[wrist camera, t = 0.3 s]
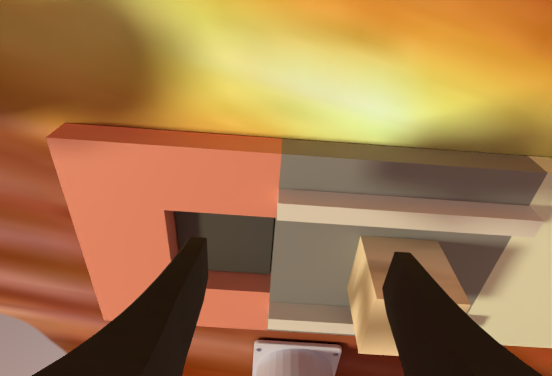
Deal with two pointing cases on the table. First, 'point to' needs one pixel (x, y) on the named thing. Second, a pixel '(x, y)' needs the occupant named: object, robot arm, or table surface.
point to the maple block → (370, 279)
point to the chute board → (305, 222)
